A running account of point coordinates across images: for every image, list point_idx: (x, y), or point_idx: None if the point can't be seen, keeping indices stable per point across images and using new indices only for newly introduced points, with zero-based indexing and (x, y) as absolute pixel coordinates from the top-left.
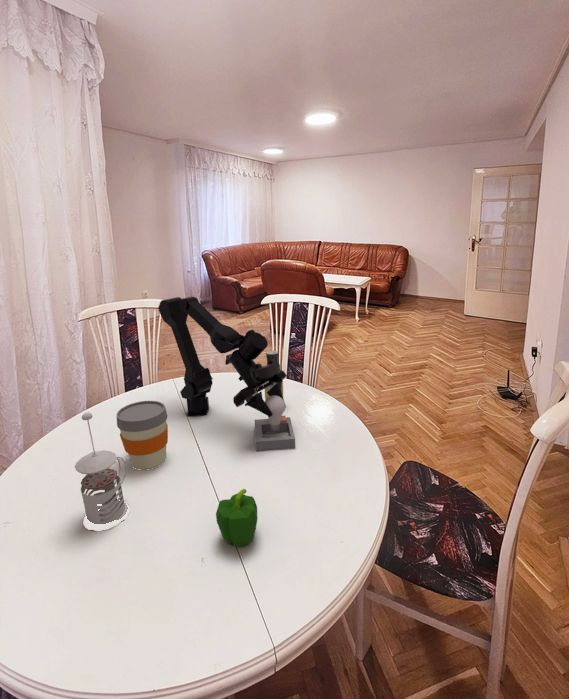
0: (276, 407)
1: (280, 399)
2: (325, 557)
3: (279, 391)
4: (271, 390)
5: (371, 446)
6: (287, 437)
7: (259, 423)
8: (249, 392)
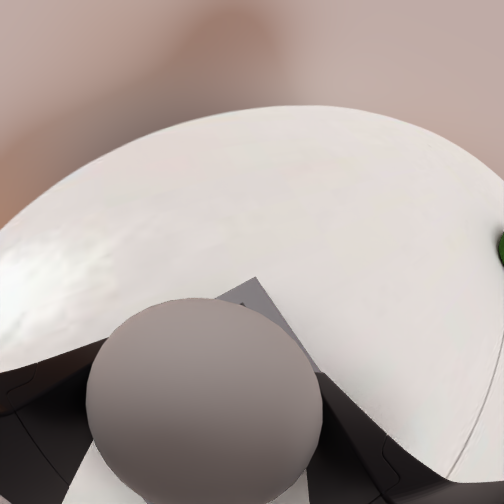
0: (291, 339)
1: (182, 321)
2: (453, 159)
3: (11, 390)
4: (23, 492)
5: (168, 129)
6: (259, 312)
7: None
8: None
